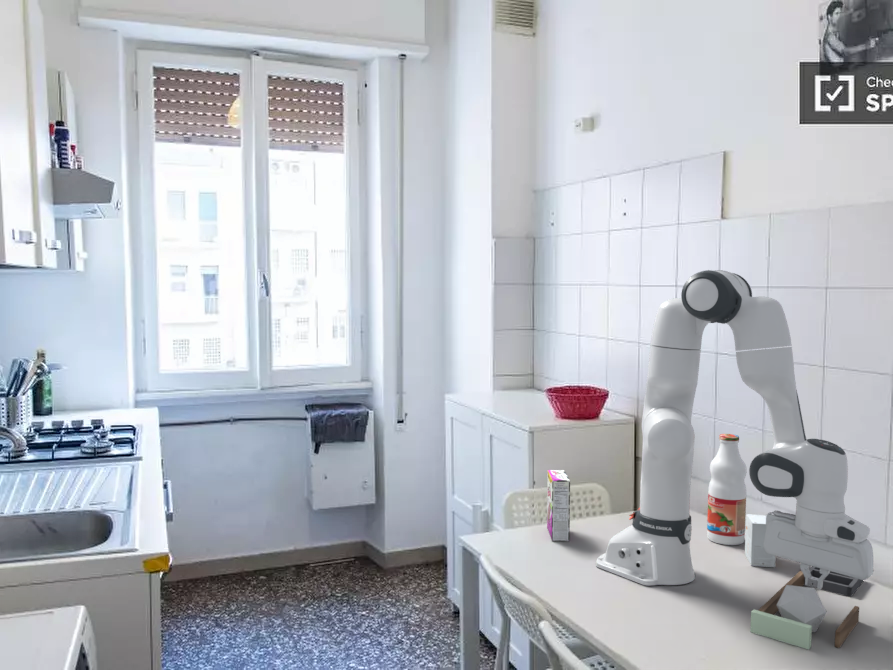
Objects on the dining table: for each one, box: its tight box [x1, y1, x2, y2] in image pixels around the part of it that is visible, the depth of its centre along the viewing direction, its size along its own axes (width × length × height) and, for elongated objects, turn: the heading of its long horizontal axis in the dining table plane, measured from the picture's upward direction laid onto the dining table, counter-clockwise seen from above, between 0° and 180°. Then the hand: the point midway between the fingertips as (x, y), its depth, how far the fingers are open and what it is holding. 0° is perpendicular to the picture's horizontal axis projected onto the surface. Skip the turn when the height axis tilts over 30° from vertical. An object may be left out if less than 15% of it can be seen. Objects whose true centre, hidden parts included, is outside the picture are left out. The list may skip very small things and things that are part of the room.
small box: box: [744, 513, 777, 568], centre depth 182 cm, size 8×6×10 cm
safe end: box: [749, 609, 813, 650], centre depth 141 cm, size 10×2×4 cm, turn 49°
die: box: [777, 585, 827, 633], centre depth 146 cm, size 8×9×10 cm
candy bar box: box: [546, 469, 571, 542], centre depth 199 cm, size 11×5×16 cm, turn 179°
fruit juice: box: [706, 433, 747, 546], centre depth 197 cm, size 9×9×28 cm
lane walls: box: [757, 570, 860, 649], centre depth 152 cm, size 15×32×3 cm, turn 139°
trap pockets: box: [804, 566, 864, 598], centre depth 169 cm, size 10×12×2 cm
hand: (813, 586), depth 152 cm, fingers closed
